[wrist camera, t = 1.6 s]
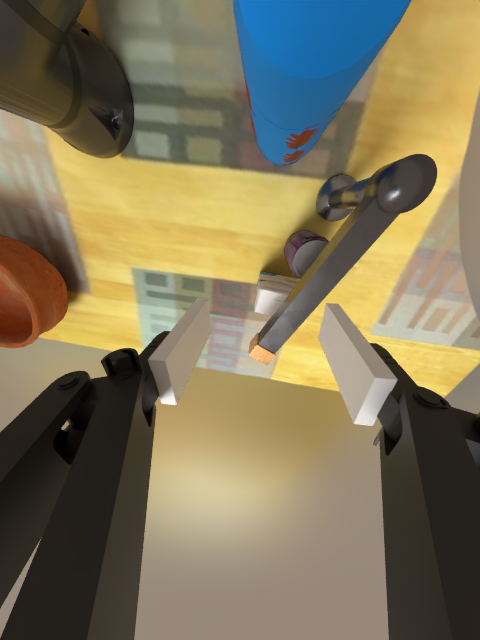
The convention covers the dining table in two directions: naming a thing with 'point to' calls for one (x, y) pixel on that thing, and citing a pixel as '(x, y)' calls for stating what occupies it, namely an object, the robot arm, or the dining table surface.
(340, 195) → the post
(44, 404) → the robot arm
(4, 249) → the bowl
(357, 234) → the swing bar
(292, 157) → the thermos
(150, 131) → the dining table surface
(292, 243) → the beverage can
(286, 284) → the ink box
